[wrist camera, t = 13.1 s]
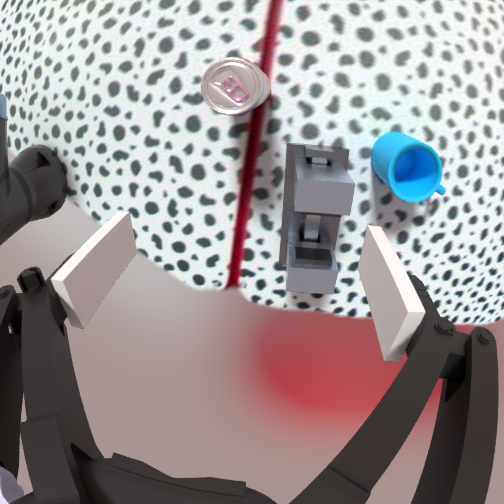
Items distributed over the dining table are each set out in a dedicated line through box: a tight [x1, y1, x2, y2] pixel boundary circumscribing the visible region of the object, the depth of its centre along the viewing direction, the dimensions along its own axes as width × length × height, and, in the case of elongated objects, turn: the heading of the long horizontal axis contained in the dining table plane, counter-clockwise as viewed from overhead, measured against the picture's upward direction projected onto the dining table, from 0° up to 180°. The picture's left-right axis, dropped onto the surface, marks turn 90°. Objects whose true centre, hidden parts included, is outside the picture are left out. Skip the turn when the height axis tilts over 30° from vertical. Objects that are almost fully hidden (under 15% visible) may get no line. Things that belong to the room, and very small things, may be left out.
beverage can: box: [201, 57, 271, 116], centre depth 29 cm, size 6×6×15 cm
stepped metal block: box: [286, 231, 338, 294], centre depth 43 cm, size 7×5×10 cm
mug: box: [371, 132, 446, 202], centre depth 35 cm, size 12×8×8 cm
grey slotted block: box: [279, 143, 355, 263], centre depth 40 cm, size 9×20×11 cm, turn 179°
